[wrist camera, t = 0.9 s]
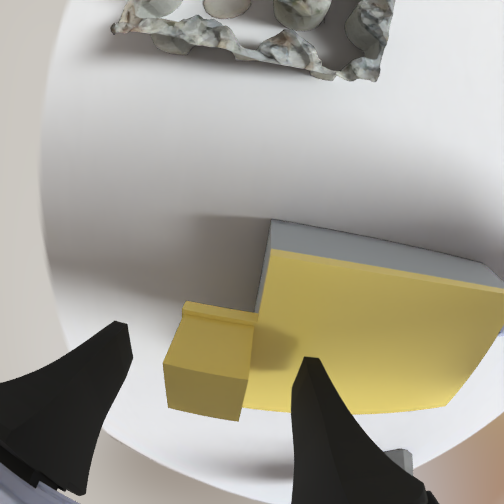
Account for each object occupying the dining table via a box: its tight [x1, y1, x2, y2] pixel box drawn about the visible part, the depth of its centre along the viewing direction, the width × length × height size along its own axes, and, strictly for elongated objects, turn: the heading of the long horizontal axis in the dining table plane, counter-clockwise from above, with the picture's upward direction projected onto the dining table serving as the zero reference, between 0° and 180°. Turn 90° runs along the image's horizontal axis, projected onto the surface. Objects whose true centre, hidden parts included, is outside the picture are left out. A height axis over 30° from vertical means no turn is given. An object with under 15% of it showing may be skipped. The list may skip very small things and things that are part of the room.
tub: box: [254, 219, 504, 313], centre depth 13 cm, size 14×9×4 cm, turn 82°
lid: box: [163, 249, 504, 422], centre depth 11 cm, size 17×9×4 cm, turn 82°
